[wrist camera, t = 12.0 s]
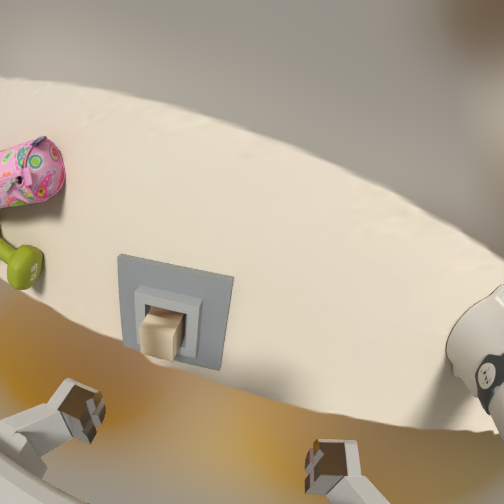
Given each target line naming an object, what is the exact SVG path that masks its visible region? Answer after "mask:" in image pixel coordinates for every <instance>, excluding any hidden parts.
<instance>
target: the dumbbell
mask: <svg viewBox="0 0 504 504" xmlns="http://www.w3.org/2000/svg"><path fill="white" fill-rule="evenodd" d="M0 259H1V260H2V261H4V262H5V263H6V264H8V267H7V277H8V282H9V284H10V285H11V286H13V287H14V288H15V289H17V290H25V289H29V288H30V287H31V286H32V285H33V284H34V282H35V281H36V279H37V278H38V276H39V275H40V272H41V269H42V260H43V254H42V252H41V251H40V250H39V249H37V248H36V247H33V246H30V245H22V246H20V247H19V248H18V249H17V250H16V249H14V248H13V247H12V246H11V245H9V244H8V243H7V242H5V241H4V240H3V239H2V238H0Z"/></svg>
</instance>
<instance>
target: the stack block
mask: <svg viewBox="0 0 504 504" xmlns="http://www.w3.org/2000/svg"><path fill="white" fill-rule="evenodd" d="M185 323H186V314H185V313H180V312H176V311H171V310H167V309H163V308H159V307H155V306H153V307H152V308H151V310H150V311H149V313H148V314H147V316H146V317H145V319H144V320H143V322H142V323H141V325H140V326H139V334H140V348H141V353H142V354H146V355H149V356H153V357H157V358H160V359H164V360H168V361H172V362H173V360H174V358H175V356H176V353H177V351H178V349H179V347H180V345H181V342H182V340H183V338H184V336H185Z"/></svg>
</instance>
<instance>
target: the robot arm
mask: <svg viewBox="0 0 504 504" xmlns="http://www.w3.org/2000/svg"><path fill="white" fill-rule="evenodd" d="M447 356H448V359H449V360H450V362H451V363H452V365H453V374H454V375H455V377H457V378H458V377H461V378H462V380H463V381H464V383H465V384H466V386H467V387H468V389H469V390H470V391H471V393H472V394H473V396H474V397H476V398H477V397H478V398H479V400H480V402H481V405H482V407H483V409H484V410H485V411H486V413H487V414H489V415H491V417H492V419H493V421H494V423H495V425H496V427H497V429H498V431H499V433H500V436H501V438H502V440H503V442H504V284H502V285H501V286H499V287H498V288H497V289H496V290H495V291H494V292H493V293H492V294H491V295H490V296H489V297H487V298H485V299H483V300H482V301H480V302H478V303H477V304H475V305H474V306H473V307H471V308H470V309H469V310H468V311H467V312H466V313H465V314H464V315H463V316H462V317H461V318H460V320H459V321H458V322H457V324H456V325H455V327H454V328H453V330H452V332H451V334H450V337H449V339H448V343H447ZM102 397H103V396H102V393H101V392H100V391H98V390H95V389H93V388H90V387H88V386H86V385H83V384H81V383H79V382H76V381H74V380H72V379H69V378H67V379H65V380H64V381H63V383H62V384H61V385H60V387H59V388H58V389H57V391H56V392H55V394H54V395H53V396H52V398H51V399H50V400H49V402H48V403H47V404H44V403H43V404H41V405H38V406H36V407H33V408H31V409H28V410H26V411H23V412H21V413H18V414H15V415H13V416H10V417H7V418H5V419H2V420H1V421H0V504H89V503H87V502H85V501H82V500H80V499H78V498H76V497H74V496H72V495H70V494H68V493H66V492H64V491H62V490H60V489H59V488H57V487H55V486H53V485H51V484H49V483H48V482H46V481H44V480H43V479H42V478H43V476H44V474H45V472H46V470H47V466H46V464H45V463H44V462H43V460H42V459H41V458H40V457H41V456H43V455H45V454H46V453H48V452H49V451H51V450H53V449H55V448H57V447H58V446H60V445H61V444H63V443H65V442H67V441H68V440H70V439H72V437H74V438H77V439H79V440H81V441H83V442H86V443H88V444H91V443H92V441H93V439H94V437H95V435H96V433H97V431H96V427H97V426H99V425H101V424H102V422H103V420H104V417H105V414H106V407H105V404H104V403H103V402H102V400H101V399H102ZM305 471H306V472H307V473H308V476H307V477H306V479H305V494H320V495H321V494H322V495H326V497H327V498H328V500H329V501H330V503H331V504H390V503H389V502H388V501H387V499H386V498H385V497H384V496H383V495H381V493H380V492H379V491H378V490H377V489H376V488H375V486H374V485H373V484H372V483H371V482H370V481H369V480H368V479H367V478H366V476H362V475H361V468H360V461H359V454H358V447H357V443H356V441H354V440H331V439H316V440H315V441H314V443H313V448H311V449H310V450H309V451H308V453H307V456H306V460H305Z"/></svg>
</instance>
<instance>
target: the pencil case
mask: <svg viewBox="0 0 504 504" xmlns="http://www.w3.org/2000/svg"><path fill="white" fill-rule="evenodd" d="M64 181H65V167H64V164H63V160H62V158H61V155H60V152H59V150H58V148H57V147H56V145H55V144H54V143H53V142H52V141H51V140H49V139H47V137H46V136H43V137H40V138H37V139H35V140H31V141H28V142H25V143H22V144H19V145H17V146H14V147H12V148H9V149H6V150H2V151H0V209H1V208H6V207H16V206H22V205H27V204H30V203H40V202H44V201H47V200H48V199H50V198H51V197H53V196H54V195H55V194H56V193H57V192H59V191H60V189H61V188H62V186H63V184H64Z"/></svg>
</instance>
